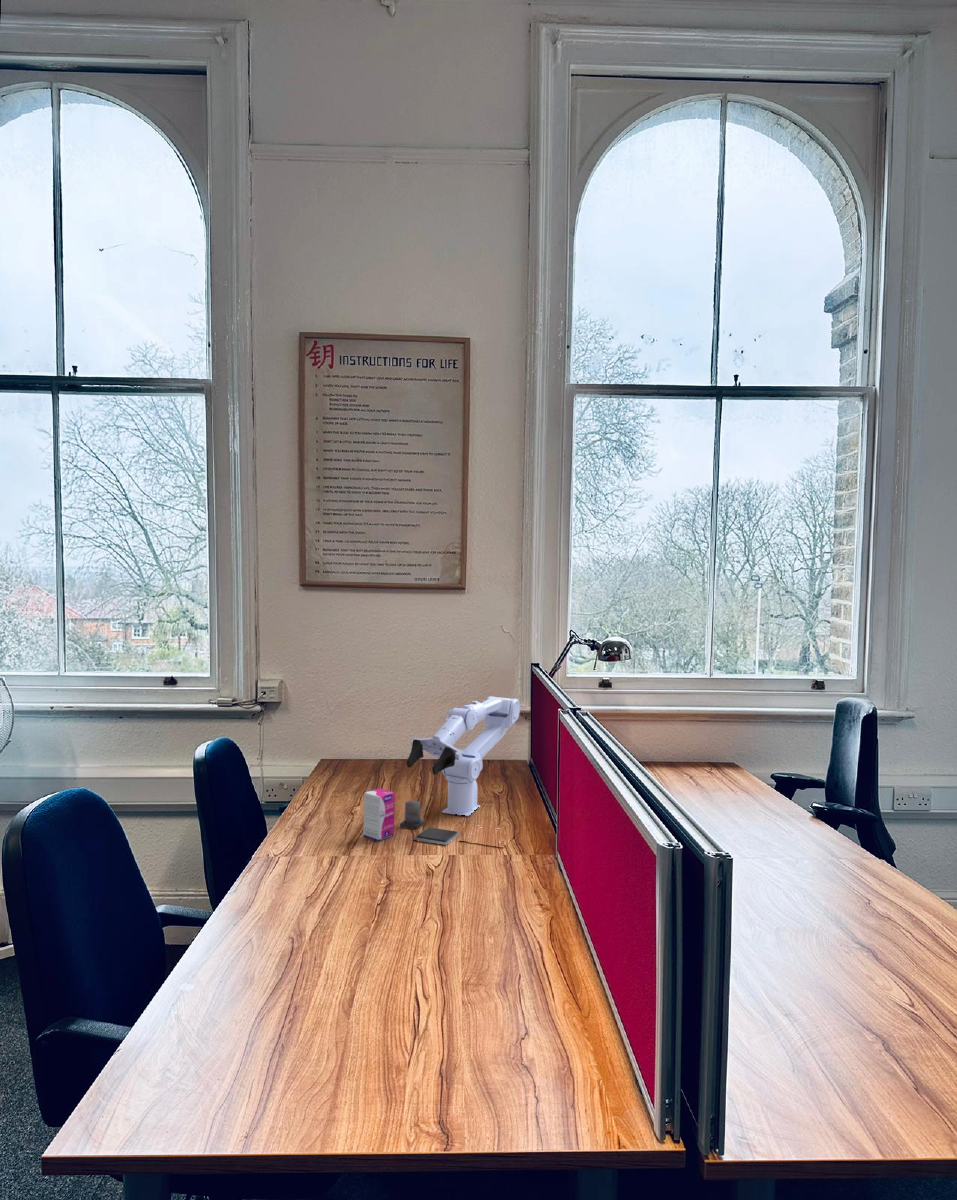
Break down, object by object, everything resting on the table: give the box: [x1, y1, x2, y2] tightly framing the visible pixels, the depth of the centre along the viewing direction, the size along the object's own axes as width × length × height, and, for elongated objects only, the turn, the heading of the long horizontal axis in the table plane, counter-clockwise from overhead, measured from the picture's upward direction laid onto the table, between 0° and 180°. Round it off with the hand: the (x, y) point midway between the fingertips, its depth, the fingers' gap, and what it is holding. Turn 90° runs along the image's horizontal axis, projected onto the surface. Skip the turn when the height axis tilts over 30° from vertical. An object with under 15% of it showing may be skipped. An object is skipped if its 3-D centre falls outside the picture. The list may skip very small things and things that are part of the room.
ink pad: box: [413, 826, 460, 846], centre depth 191 cm, size 8×9×1 cm
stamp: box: [399, 800, 426, 830], centre depth 200 cm, size 5×5×6 cm
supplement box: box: [362, 787, 396, 842], centre depth 191 cm, size 6×6×12 cm
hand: (420, 767), depth 193 cm, fingers open, 7 cm apart
